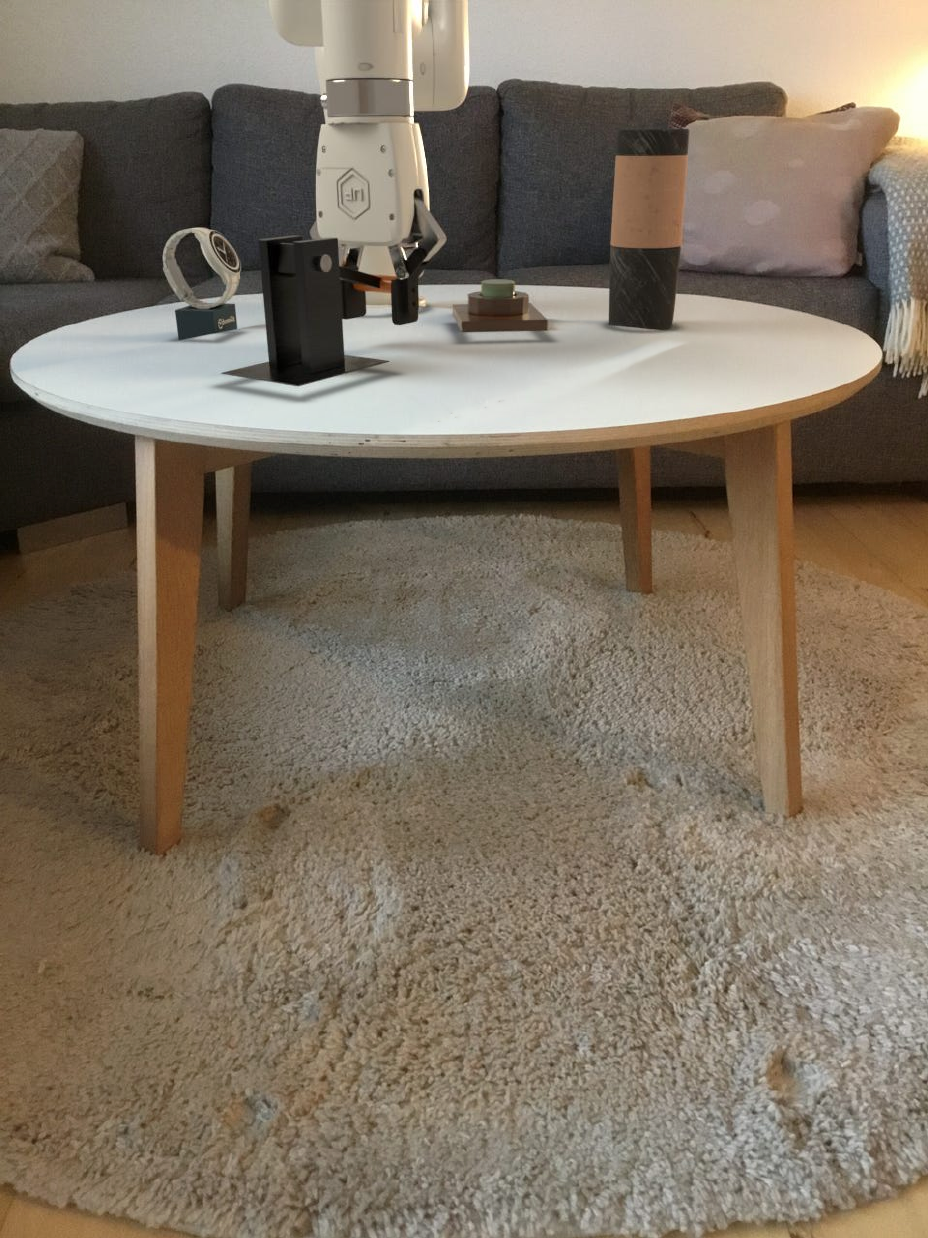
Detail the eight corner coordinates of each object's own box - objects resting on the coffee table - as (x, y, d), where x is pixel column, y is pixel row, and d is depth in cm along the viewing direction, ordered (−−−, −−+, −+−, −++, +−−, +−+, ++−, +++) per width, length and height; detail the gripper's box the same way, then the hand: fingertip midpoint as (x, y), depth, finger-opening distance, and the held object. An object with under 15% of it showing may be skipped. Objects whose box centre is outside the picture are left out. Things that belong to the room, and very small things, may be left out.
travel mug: (680, 332, 110) (697, 128, 102) (610, 332, 110) (620, 129, 102) (668, 320, 117) (683, 128, 109) (602, 320, 117) (612, 129, 109)
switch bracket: (316, 363, 96) (307, 230, 91) (390, 373, 92) (385, 235, 87) (222, 386, 87) (206, 241, 82) (298, 399, 83) (287, 247, 78)
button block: (452, 324, 116) (452, 287, 114) (530, 322, 117) (530, 286, 115) (461, 343, 105) (461, 303, 103) (547, 341, 106) (548, 301, 104)
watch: (233, 342, 106) (222, 230, 102) (163, 339, 108) (149, 229, 103) (254, 333, 111) (244, 226, 107) (187, 330, 113) (174, 225, 108)
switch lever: (361, 295, 97) (364, 269, 96) (406, 300, 94) (410, 273, 93) (262, 270, 86) (265, 241, 85) (311, 275, 83) (314, 244, 82)
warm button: (479, 296, 111) (479, 279, 110) (512, 295, 111) (512, 278, 110) (483, 300, 108) (483, 283, 107) (516, 300, 108) (517, 283, 107)
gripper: (268, 107, 89) (284, 318, 97) (423, 101, 80) (428, 334, 88) (325, 109, 95) (336, 308, 103) (476, 104, 86) (476, 322, 94)
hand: (379, 318), depth 95 cm, fingers closed on switch lever, 5 cm apart
